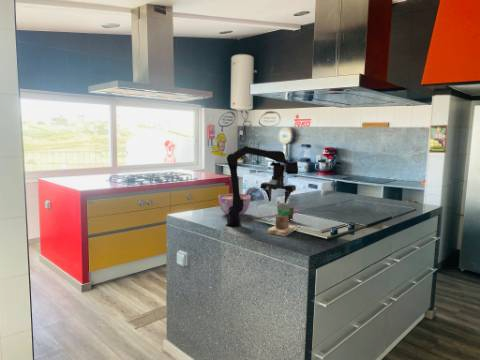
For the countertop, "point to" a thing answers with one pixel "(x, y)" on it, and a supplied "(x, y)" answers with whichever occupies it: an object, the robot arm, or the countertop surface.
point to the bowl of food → (226, 202)
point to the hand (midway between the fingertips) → (277, 202)
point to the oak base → (281, 230)
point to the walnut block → (282, 221)
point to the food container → (285, 209)
